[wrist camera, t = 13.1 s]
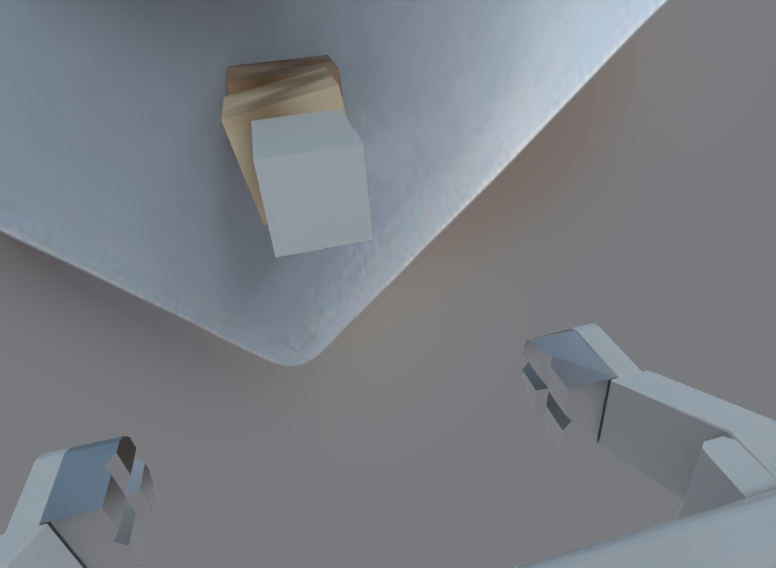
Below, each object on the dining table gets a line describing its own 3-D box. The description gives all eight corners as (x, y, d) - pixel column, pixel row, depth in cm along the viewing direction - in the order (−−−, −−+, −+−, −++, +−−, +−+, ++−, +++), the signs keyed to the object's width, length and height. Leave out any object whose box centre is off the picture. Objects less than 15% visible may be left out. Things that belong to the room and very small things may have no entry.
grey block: (341, 108, 26) (363, 143, 21) (351, 190, 29) (373, 239, 24) (251, 120, 26) (253, 160, 21) (269, 204, 28) (275, 257, 23)
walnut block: (327, 54, 34) (338, 68, 30) (338, 149, 38) (350, 173, 34) (227, 66, 33) (225, 82, 29) (249, 162, 37) (250, 189, 33)
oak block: (325, 67, 30) (338, 85, 26) (352, 164, 33) (367, 193, 29) (223, 96, 29) (220, 120, 25) (261, 191, 33) (264, 225, 29)
